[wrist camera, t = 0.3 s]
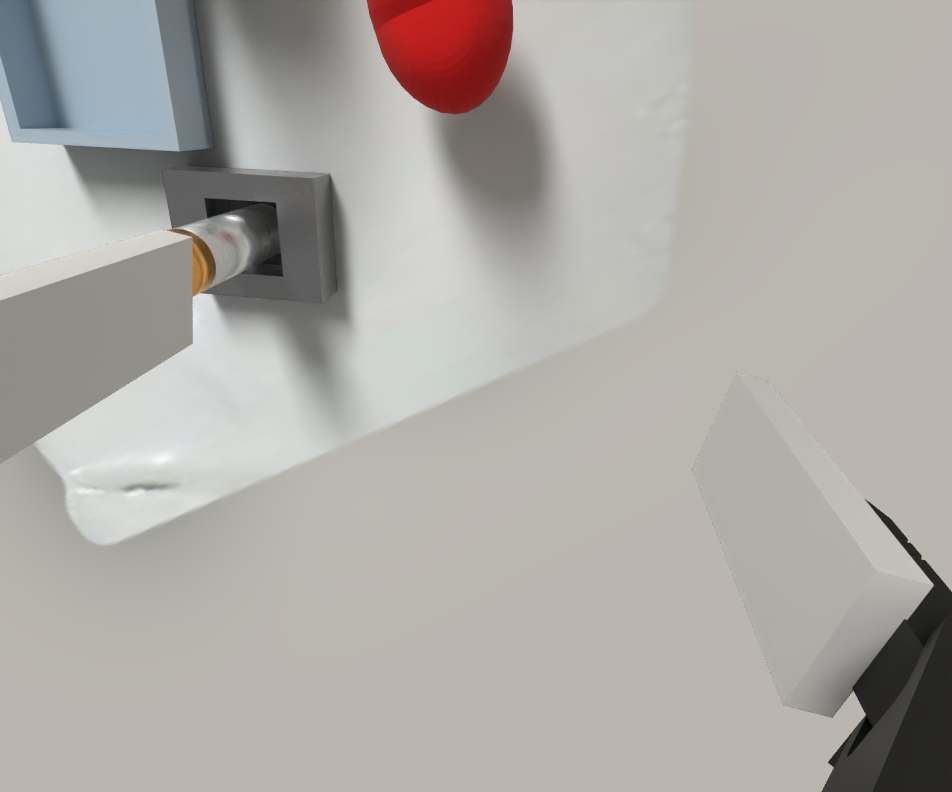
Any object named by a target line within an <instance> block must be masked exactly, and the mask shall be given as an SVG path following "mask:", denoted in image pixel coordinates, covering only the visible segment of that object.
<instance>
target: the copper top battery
mask: <svg viewBox="0 0 952 792" xmlns="http://www.w3.org/2000/svg"><path fill="white" fill-rule="evenodd" d="M167 231H170V232H174V233H178V234H182V235H186V236H190V237H192V297H193V296H195V295H197V294H199V293H201V292H203V291H205V290H207V289H209V288H211V287H213V286H215V285H217V284H219V283H221V282H223V281H225V280H227V279H229V278H231V277H233V276H235V275H237V274H239V273H241V272H243V271H245V270H247V269H249V268H251V267H253V266H255V265H257V264H259V263H261V262H263V261H265V260H267V259H269V258H271V257H273V256H275V255H277V254H279V253H281V249H280V240H279V230H278V220H277V210H276V209H275V208H274V207H272V206H270V205H267V204H254V205H251V206H247V207H244V208H241V209H237V210H234V211H231V212H227V213H224V214H220V215H217V216H214V217H210V218H207V219H204V220H200V221H197V222H194V223H190V224H187V225H183V226H180V227H177V228H173V229H170V230H167Z"/></svg>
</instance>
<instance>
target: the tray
mask: <svg viewBox="0 0 952 792" xmlns="http://www.w3.org/2000/svg"><path fill="white" fill-rule="evenodd" d="M0 100H1V104H2V107H3V111H4V115H5V118H6V122H7V125H8V129H9V133H10V136H11V140H12V142H22V143H40V144H57V145H75V146H93V147H110V148H128V149H146V150H164V151H189V150H199V149H210V148H214V146H213V139H212V132H211V125H210V118H209V111H208V104H207V96H206V89H205V82H204V75H203V68H202V61H201V54H200V47H199V39H198V32H197V25H196V18H195V11H194V4H193V0H0Z"/></svg>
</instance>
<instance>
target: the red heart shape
mask: <svg viewBox="0 0 952 792" xmlns="http://www.w3.org/2000/svg"><path fill="white" fill-rule="evenodd" d="M367 4H368V9H369V15H370V18H371V21H372V24H373V27H374V30H375V33H376V36H377V40H378V43H379V46H380V49H381V52H382V55H383V57H384V59H385V61H386V63H387V65H388V66H389V68H390V70H391V72H392V73H393V75H394V76H395V78H396V79H397V80H398V82H399V83H400V84H401V86H402V87H403V88H404V89H405V90H406V91H407V92H408V93H409V94H410V95H411V96H412V97H413V98H414V99H416V100H417V101H419V102H420V103H422V104H423V105H425V106H426V107H429V108H431V109H434V110H436V111H439V112H441V113H449V114H459V113H465V112H468V111H470V110H472V109H474V108H476V107H478V106H479V105H481V104H482V103H483V102H484V101H485V100H486V99H487V98H488V97H489V96H490V95H491V93H492V92H493V90H494V89H495V87H496V86H497V84H498V83H499V81H500V79H501V76H502V74H503V72H504V69H505V67H506V64H507V60H508V56H509V53H510V49H511V41H512V33H513V6H512V0H367Z"/></svg>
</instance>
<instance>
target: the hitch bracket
mask: <svg viewBox="0 0 952 792" xmlns="http://www.w3.org/2000/svg"><path fill="white" fill-rule="evenodd" d="M162 175H163V181H164V186H165V192H166V197H167V203H168V208H169V214H170V220H171V225H172V229H173V228H177V227H180V226H183V225H187V224H190V223H194V222H197V221H200V220H204V219H207V218H210V217H214V216H217V215H220V214H224V213H227V212H230V207H229V200H245V201H260V202H276V210H277V220H278V230H279V240H280V249H281V259H282V265H273V264H260V263H259V264H257V265H255V266H253V267H251V268H249V269H247V270H245V271H243V272H241V273H239V274H237V275H235V276H233V277H231V278H229V279H227V280H225V281H223V282H221V283H219V284H217V285H215V286H213V287H211V288H209V289H207V290H205V291H203V292H201V293H205V294H218V295H231V296H243V297H256V298H268V299H281V300H294V301H306V302H319V303H323V302H324V301H325V300H326V299H328V298H329V297H330V296H331V295H333V294H334V293H335V292H336V291H337V282H336V266H335V250H334V234H333V218H332V201H331V185H330V174H324V173H307V172H289V171H272V170H255V169H238V168H221V167H204V166H181V167H174V168H166V169H162ZM228 199H229V200H228Z"/></svg>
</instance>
